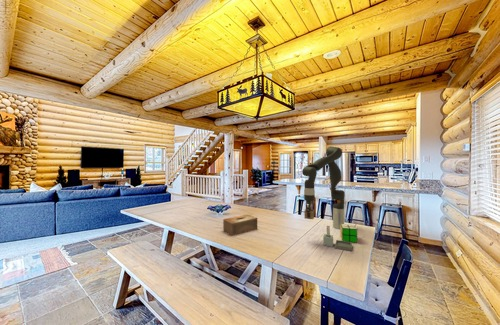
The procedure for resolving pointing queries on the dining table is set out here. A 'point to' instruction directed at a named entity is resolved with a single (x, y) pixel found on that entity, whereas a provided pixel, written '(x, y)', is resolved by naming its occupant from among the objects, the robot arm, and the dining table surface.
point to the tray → (343, 245)
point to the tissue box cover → (239, 224)
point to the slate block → (328, 240)
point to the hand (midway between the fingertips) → (309, 216)
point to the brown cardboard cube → (310, 214)
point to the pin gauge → (328, 231)
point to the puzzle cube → (348, 233)
